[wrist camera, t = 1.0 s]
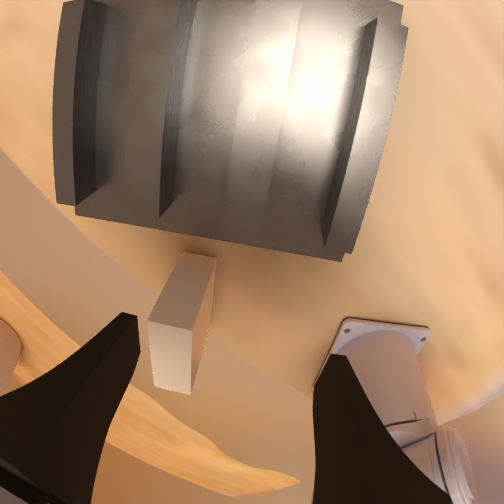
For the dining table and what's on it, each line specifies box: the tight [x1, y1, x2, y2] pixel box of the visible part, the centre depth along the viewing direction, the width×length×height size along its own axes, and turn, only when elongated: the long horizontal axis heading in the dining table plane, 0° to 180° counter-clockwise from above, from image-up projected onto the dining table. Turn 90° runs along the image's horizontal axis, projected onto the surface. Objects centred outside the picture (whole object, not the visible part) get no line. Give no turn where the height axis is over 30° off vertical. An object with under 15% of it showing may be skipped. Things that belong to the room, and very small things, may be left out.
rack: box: [53, 0, 408, 262], centre depth 15 cm, size 16×18×4 cm
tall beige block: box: [147, 252, 217, 395], centre depth 20 cm, size 6×2×7 cm, turn 171°
